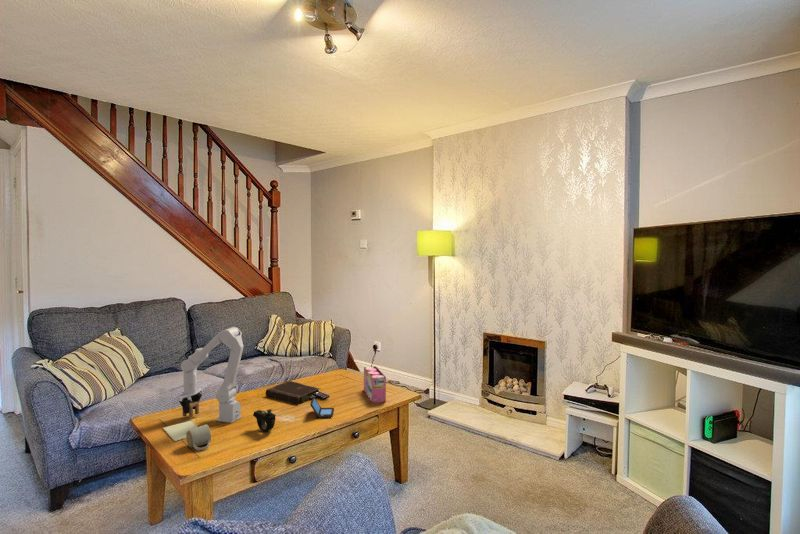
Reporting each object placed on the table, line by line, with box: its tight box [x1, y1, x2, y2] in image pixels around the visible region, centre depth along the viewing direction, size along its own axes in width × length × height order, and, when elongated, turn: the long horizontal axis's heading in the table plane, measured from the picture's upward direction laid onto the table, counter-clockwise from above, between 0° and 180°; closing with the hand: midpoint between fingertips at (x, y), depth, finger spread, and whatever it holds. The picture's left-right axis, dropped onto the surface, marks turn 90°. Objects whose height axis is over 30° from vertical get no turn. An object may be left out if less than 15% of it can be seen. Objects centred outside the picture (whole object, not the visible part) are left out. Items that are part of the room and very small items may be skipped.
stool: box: [182, 400, 200, 418], centre depth 211 cm, size 5×5×6 cm
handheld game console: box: [310, 397, 335, 419], centre depth 216 cm, size 12×11×7 cm
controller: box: [252, 409, 277, 433], centre depth 196 cm, size 4×12×10 cm, turn 56°
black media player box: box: [265, 380, 321, 405], centre depth 243 cm, size 19×25×5 cm
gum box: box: [363, 365, 387, 403], centre depth 245 cm, size 24×8×14 cm, turn 17°
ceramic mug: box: [185, 424, 212, 452], centre depth 180 cm, size 11×8×8 cm
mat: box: [162, 420, 199, 442], centre depth 195 cm, size 18×12×1 cm, turn 43°
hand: (190, 411), depth 211 cm, fingers closed on stool, 5 cm apart
